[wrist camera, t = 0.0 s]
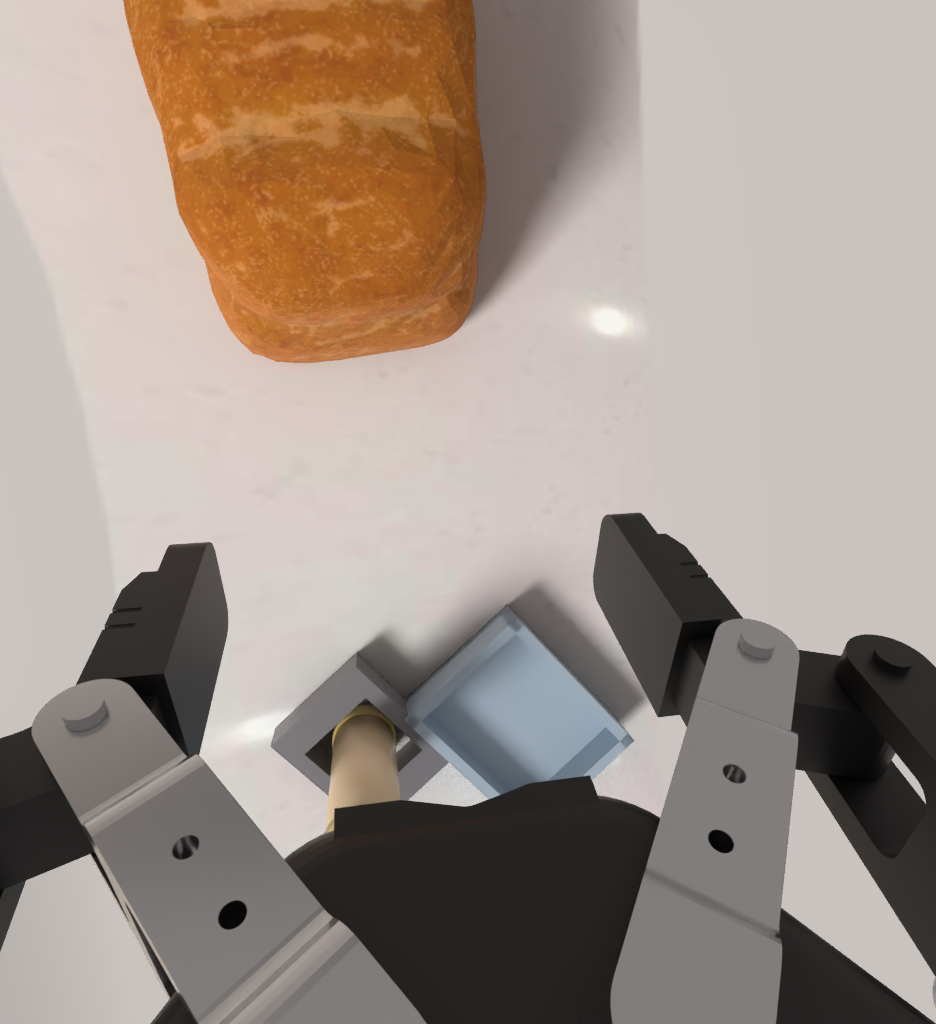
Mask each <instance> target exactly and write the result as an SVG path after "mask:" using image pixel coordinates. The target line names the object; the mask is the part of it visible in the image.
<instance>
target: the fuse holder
mask: <svg viewBox="0 0 936 1024" xmlns="http://www.w3.org/2000/svg"><path fill="white" fill-rule="evenodd" d="M365 698H367V699H368V700H369V701H370V702H371V703H372V704H373V705H374V706H375V707H376V708H377V709H379V710H380V711H381V712H382V713H383V714H384V715H385V716H386V717H387V718H388V719H389V720H390V721H392V722H393V723H394V724H395V725H396V726H397V727H398V728H399V729H400V730H401V731H402V732H404V733H405V734H406V735H407V736H408V737H409V738H410V739H411V741H410V742H409V743H407V744H406V745H405V746H404V747H403V748H402V749H401V750H400V751H399V752H398V753H397V754H396V757H397V768H398V779H399V790H400V800H405V801H407V800H409V799H410V798H411V797H412V796H413V795H414V794H415V793H416V792H417V791H418V790H419V789H420V788H421V787H423V786H424V785H425V784H426V783H427V782H428V781H429V780H430V779H431V778H432V777H433V776H434V775H435V774H437V773H438V772H439V771H440V770H441V769H442V768H443V767H444V766H445V765H446V764H447V763H448V761H447V760H446V759H445V758H444V757H443V756H442V755H441V754H440V753H438V752H437V751H436V750H435V749H434V748H433V747H432V746H431V745H430V744H429V743H428V742H427V741H425V740H424V739H423V738H422V737H421V736H420V735H419V734H418V733H417V732H416V731H415V730H414V729H413V728H411V727H410V726H409V725H408V724H407V723H406V722H405V718H406V717H407V716H408V712H407V705H406V699H405V698H404V697H403V696H402V695H401V694H400V693H399V692H398V691H396V690H395V689H394V688H393V687H392V686H391V685H390V684H389V683H388V682H387V681H386V680H385V679H384V678H383V677H382V676H380V675H379V674H378V673H377V672H376V671H375V670H374V669H373V668H372V667H371V666H370V665H369V664H368V663H367V662H366V661H364V660H363V659H362V658H361V657H360V656H359V655H358V654H357V653H356V654H355V655H354V656H353V657H352V658H350V659H349V660H348V661H347V662H346V663H345V664H344V665H343V666H342V667H341V668H340V669H339V670H338V671H336V672H335V673H334V674H333V675H332V676H331V677H330V678H329V679H328V680H327V681H326V682H325V683H324V684H323V685H321V686H320V687H319V688H318V689H317V690H316V691H315V692H314V693H313V694H312V695H311V696H310V697H309V698H307V699H306V700H305V701H304V702H303V703H302V704H301V705H300V706H299V707H298V708H297V709H296V710H295V711H294V712H292V713H291V714H290V715H289V716H288V717H287V718H286V719H285V720H284V721H283V722H282V723H281V724H280V725H278V726H277V727H276V728H275V732H274V736H273V739H272V743H271V747H272V748H273V749H274V750H275V751H276V752H278V753H279V754H280V755H281V756H282V757H283V758H285V759H286V760H287V761H288V762H289V763H291V764H292V765H293V766H294V767H295V768H296V769H298V770H299V771H300V772H301V773H302V774H303V775H305V776H306V777H307V778H308V779H309V780H311V781H312V782H313V783H314V784H315V785H316V786H318V787H319V788H320V789H321V790H322V791H323V792H325V793H326V794H327V795H328V796H329V786H330V775H331V764H332V757H331V756H330V755H329V754H327V753H326V752H325V751H324V750H323V749H322V748H321V747H319V746H318V745H317V744H316V743H318V742H319V741H320V740H321V739H322V738H323V737H324V736H325V735H326V734H327V733H328V732H329V731H330V730H332V729H333V728H334V727H335V726H336V725H337V724H338V723H339V722H340V721H341V720H342V719H343V718H344V717H345V716H347V715H348V714H349V713H350V712H351V711H352V710H353V709H354V708H355V707H356V706H357V705H358V704H359V703H361V702H362V701H363V700H364V699H365Z"/></svg>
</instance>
